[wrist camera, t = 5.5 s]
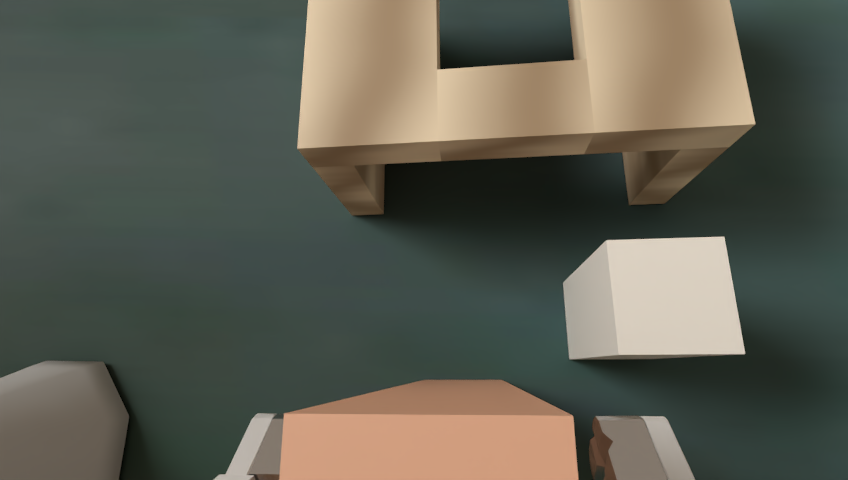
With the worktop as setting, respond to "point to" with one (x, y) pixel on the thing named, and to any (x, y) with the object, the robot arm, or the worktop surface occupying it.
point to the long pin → (431, 435)
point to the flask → (61, 423)
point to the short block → (653, 301)
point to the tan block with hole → (521, 94)
